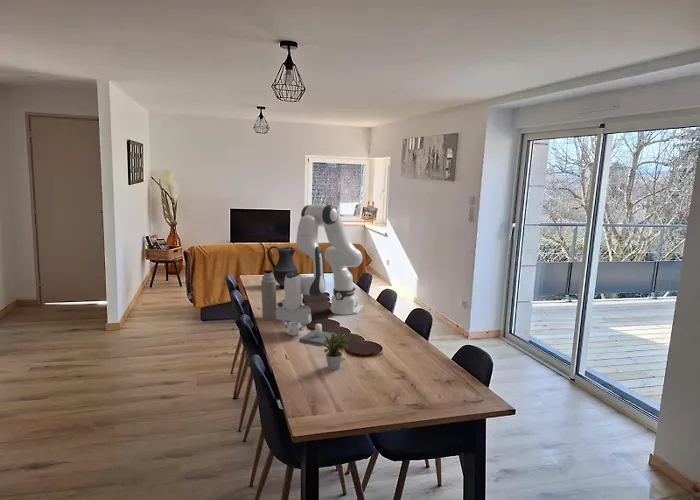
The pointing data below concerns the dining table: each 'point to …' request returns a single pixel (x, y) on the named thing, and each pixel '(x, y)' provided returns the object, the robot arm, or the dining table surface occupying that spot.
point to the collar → (293, 328)
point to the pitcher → (283, 264)
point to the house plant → (334, 351)
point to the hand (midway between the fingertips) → (293, 329)
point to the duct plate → (314, 339)
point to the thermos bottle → (268, 295)
